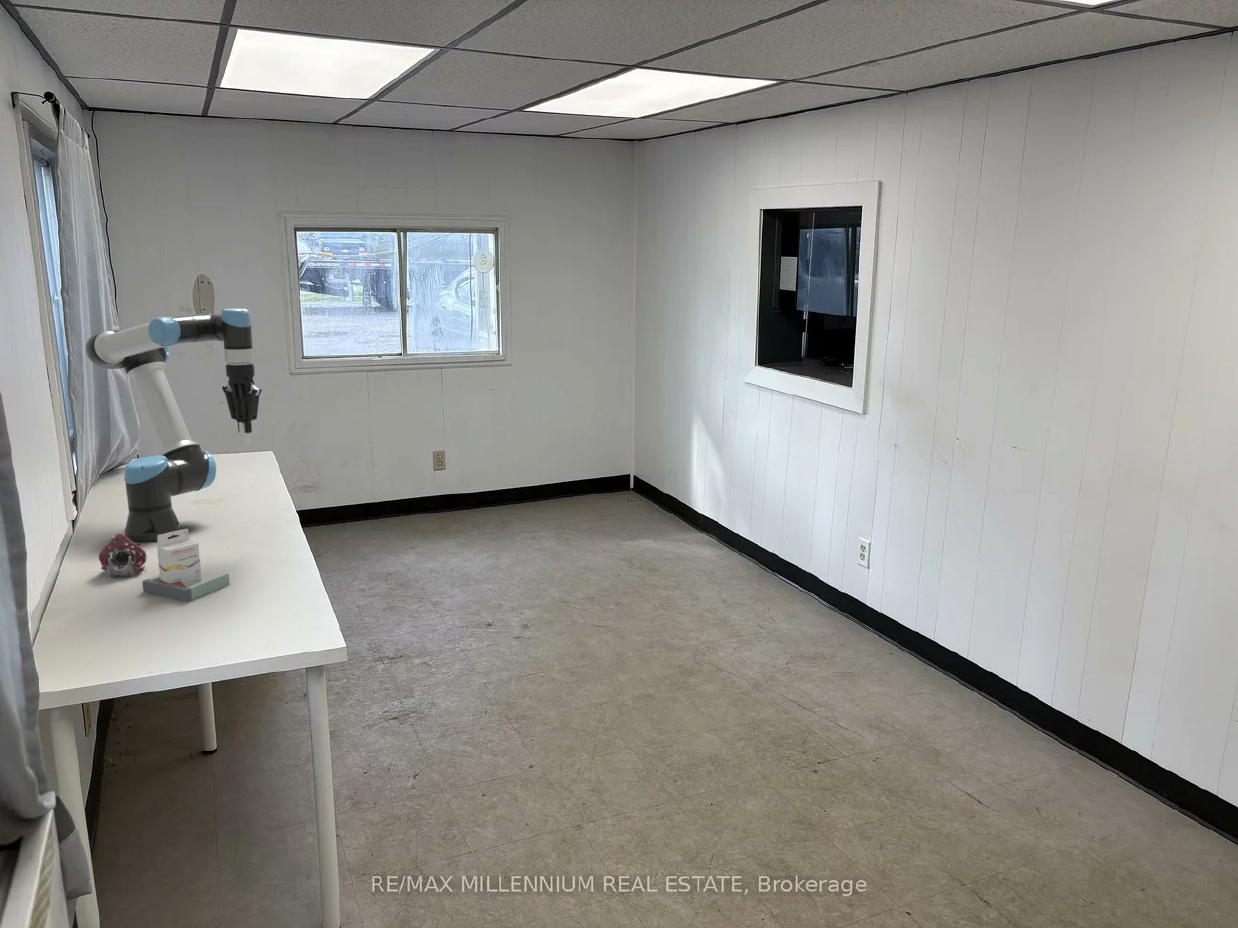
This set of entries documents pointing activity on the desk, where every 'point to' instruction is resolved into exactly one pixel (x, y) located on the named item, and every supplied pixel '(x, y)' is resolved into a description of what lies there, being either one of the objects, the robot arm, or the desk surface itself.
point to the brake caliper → (122, 558)
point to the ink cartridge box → (178, 559)
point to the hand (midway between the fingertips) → (246, 443)
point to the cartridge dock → (181, 592)
